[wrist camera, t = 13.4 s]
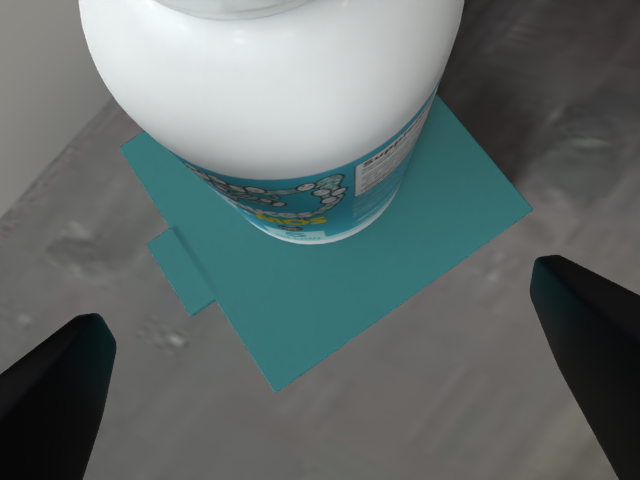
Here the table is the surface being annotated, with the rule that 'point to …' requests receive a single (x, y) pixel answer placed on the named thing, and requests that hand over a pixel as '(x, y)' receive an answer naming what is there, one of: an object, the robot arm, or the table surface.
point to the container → (324, 248)
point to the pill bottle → (280, 97)
